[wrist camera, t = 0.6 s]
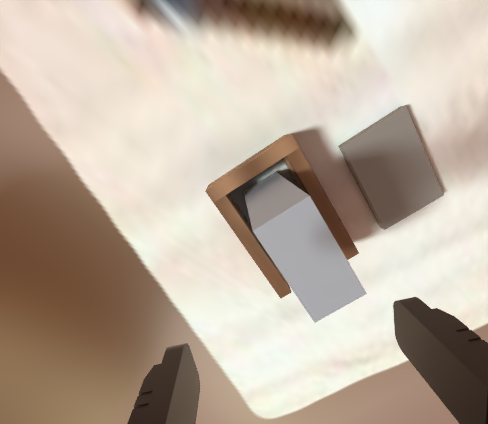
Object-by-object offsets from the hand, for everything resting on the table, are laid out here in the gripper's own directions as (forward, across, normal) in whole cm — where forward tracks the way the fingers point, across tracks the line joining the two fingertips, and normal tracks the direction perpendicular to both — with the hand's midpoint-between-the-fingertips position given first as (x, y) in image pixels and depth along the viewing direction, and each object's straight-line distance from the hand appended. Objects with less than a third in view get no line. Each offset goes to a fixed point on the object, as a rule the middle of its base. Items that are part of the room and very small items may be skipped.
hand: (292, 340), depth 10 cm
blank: (+22, -3, +2) cm, 23 cm away
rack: (+22, -3, +3) cm, 23 cm away
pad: (+23, -17, 0) cm, 28 cm away
